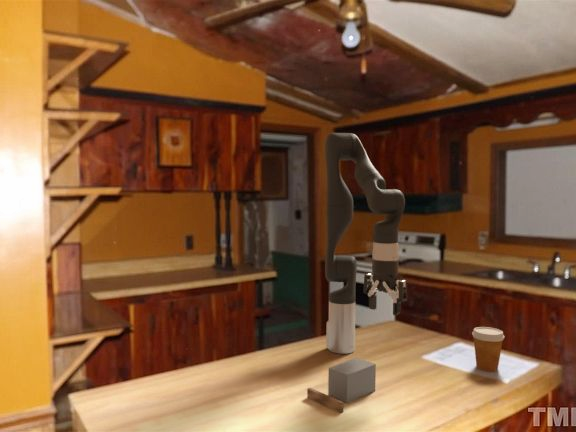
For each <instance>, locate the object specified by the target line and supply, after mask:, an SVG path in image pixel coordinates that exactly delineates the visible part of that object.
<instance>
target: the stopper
mask: <svg viewBox="0 0 576 432" xmlns="http://www.w3.org/2000/svg"><path fill="white" fill-rule="evenodd" d="M306 391H307V393H306V394H307V396H306V398H307V399H309V400H312V401H313V402H316V403H319V404H320V405H322V406H324V407H327V408H329V409H331V410H334V411H335V412H338V413H339V414H342V413H344V402H343V401H341V400H339V399H336V398H334V397H332V396H329V395H328V394H325V393H324V392H321V391H319V390H316V389H314V388H312V387H307V389H306Z"/></svg>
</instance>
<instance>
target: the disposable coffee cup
mask: <svg viewBox="0 0 576 432" xmlns="http://www.w3.org/2000/svg"><path fill="white" fill-rule="evenodd" d="M471 334H472V337H473V343H474V344H473V345H474V355H475V365H476V368H477V369H479V370H481V371H484V372H496V371H498V370H499V364H500V359H501V352H502V348H503V347H502V346H503V341H504V339H505V335H504V331H503V330H500V329H499V328H496V327H495V328H494V327H491V326H490V327H489V326H488V327H487V326H478V327H474V328H473V331H472V332H471Z"/></svg>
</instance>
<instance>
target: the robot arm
mask: <svg viewBox="0 0 576 432" xmlns="http://www.w3.org/2000/svg"><path fill="white" fill-rule="evenodd" d="M324 157H325V169H326V170H325V171H326V205H325V206H326V208H325V209H326V211H325V214H326V216H325V217H326V249H325V264H324V271H325V272H324V275H325V279H326V280H327V282H331V283H346V284H345V286H343V287H341V288H340V289H339V288H338V289H336V290H333V291H331V292H330V293H329V295H328V320H327V321H326V331H325V332H326V336H325V338H326V341H325V343H326V346H325V348H326V349H328V350H329V352H331V353H334V354H340V355H341V354H342V355H345V354H352V353H354V352H355V349H356V348H355V347H356V283H357V269H358V264H357V263H358V262H357V260H356V257H355V255H354V256H353V255H336V253H335V252H336V250H337V247H338V244H339V243H340V241H341V239H342V237H343V236H344V234H345V233H346V231H347V230H348V228H349V227H350V226H351V223H352V222H353V219H354V198H353V195H352V193H351V191H350V189H349V187H348V186H347V184H346V183H345V180H343V177H342V173H341V168H340V161H341V162H343V161H344V162H345V161H352V162H353V163H354V164H355V169H354V178H355V181H356V183H357V184H358V186H359V187H360V189H362V191H363V192H364V194H365V195H364V196H365V198H366V202H367V207H368V208H369V210H370V211H371V212H373V213H374V214H377V215H378V214H379V215H380V214H381V215H382V214H383V215H384V214H386V216H385V218H384V219H383V220H380V221H378V222H376V223H374V226H373V245H372V252H371V253H372V257H371V258H372V261H371V262H372V263H371V269H372V270H371V271H372V272H371V273H366V274H364V278H363V290H362V291H363V294H366V295H367V296H368V307H369V309H370V310H375V309H377V296H376V295H377V294H378V293H379V292H383V293H386V294H388V297H389V296H390V297H391V300H393V302H392V315H393V316H399V315H400V313H402V312H401V310H402V306H401V304H402V302H407V301H408V281H407V280H406V279H403V280H399V279H398V274H399V259H400V258H399V256H400V255H399V251H400V249H399V227H400V224H401V221H402V218H403V214H404V210H405V205H406V199H405V195H404V193H403V192H402V191H401V190H399V189H396V188H392V189H386V188H387V187H386V186H387V182H386V180H385V178H384V177H383V176H382V175H381V174H380V172H379V171H378V170H377V169H376V168H375V166H374V165H373V163H372V162H371V160H370V158H369V156H368V154H367V151H366V149H365V148H364V146H363V144H362V142H361V140H360V139H359V137H358V136H357V135H356V134H355V133H352V132H351V133H350V132H331V133H329V134H327V136H326V139H325V142H324Z"/></svg>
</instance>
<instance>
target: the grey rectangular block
mask: <svg viewBox="0 0 576 432" xmlns="http://www.w3.org/2000/svg"><path fill="white" fill-rule="evenodd" d="M376 370H377V368H376V363H373V362H370V361H367V360H365V359H361V358H358V357H355V358H352V359H350V360H347V361H344V362H341V363H338V364H335V365H332V366H330V367H328V376H327V377H328V379H327V380H328V383H327V386H328V387H327V388H328V393H327V395H328V396H330V397H333V398H335V399H337V400H340V401H342V402H343V403H346V404H349V403H351V402H353V401H355V400H357V399H359V398H362V397H364V396H366V395H370V394H371V393H373V392H376V375H377V373H376Z"/></svg>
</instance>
